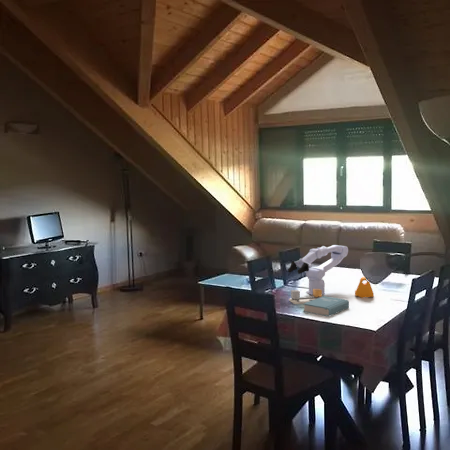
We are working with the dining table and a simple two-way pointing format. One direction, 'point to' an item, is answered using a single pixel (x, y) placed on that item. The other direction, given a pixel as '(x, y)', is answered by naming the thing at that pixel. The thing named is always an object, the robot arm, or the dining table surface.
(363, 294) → the bracket
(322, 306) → the book
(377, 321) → the dining table surface
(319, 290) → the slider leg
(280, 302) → the dining table surface
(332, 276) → the dining table surface
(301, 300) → the pitch plate
